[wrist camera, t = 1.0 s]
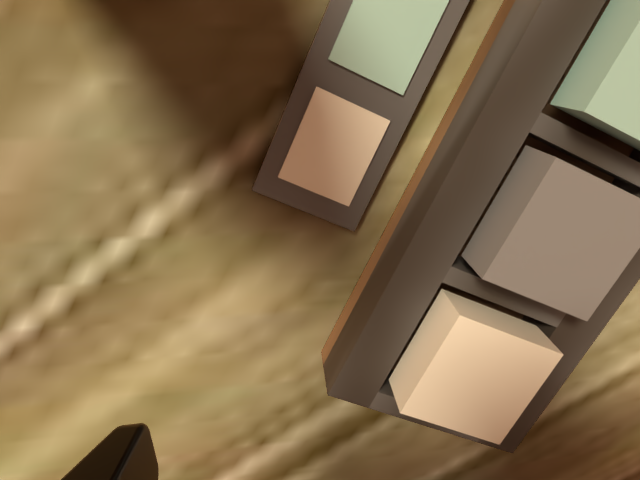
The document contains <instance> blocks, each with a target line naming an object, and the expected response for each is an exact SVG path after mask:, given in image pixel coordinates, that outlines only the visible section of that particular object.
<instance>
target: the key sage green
mask: <svg viewBox="0 0 640 480" xmlns="http://www.w3.org/2000/svg"><path fill="white" fill-rule="evenodd" d="M550 105H552V106H554V107H556V108H558V109H560V110H562V111H564V112H566V113H568V114H570V115H572V116H573V117H575V118H577V119H579V120H581V121H583V122H585V123H587V124H589V125H591V126H593V127H595V128H597V129H599V130H600V131H602V132H604V133H606V134H608V135H610V136H612V137H614V138H616V139H618V140H620V141H622V142H624V143H626V144H628V145H629V146H631V147H633V148H635V149H637V150H639V151H640V0H610V2H609V4H608V6H607V7H606V9H605V11H604V12H603V14H602V16H601V18H600V19H599V21H598V23H597V24H596V26H595V28H594V30H593V31H592V33H591V35H590V36H589V38H588V40H587V41H586V43H585V45H584V47H583V48H582V50H581V52H580V53H579V55H578V57H577V59H576V60H575V62H574V64H573V65H572V67H571V69H570V71H569V72H568V74H567V76H566V77H565V79H564V81H563V82H562V84H561V86H560V88H559V89H558V91H557V93H556V94H555V96H554V98H553V100H552V101H551V103H550Z"/></svg>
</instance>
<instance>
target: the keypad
mask: <svg viewBox="0 0 640 480" xmlns="http://www.w3.org/2000/svg"><path fill="white" fill-rule="evenodd" d="M609 2H610V0H504V1H503V3H502V5H501V7H500V9H499V11H498V13H497V15H496V17H495V19H494V21H493V23H492V24H491V26H490V28H489V30H488V32H487V34H486V36H485V38H484V40H483V42H482V44H481V46H480V48H479V49H478V51H477V53H476V55H475V57H474V59H473V61H472V63H471V65H470V67H469V69H468V71H467V73H466V74H465V76H464V78H463V80H462V82H461V84H460V86H459V88H458V90H457V92H456V94H455V96H454V98H453V99H452V101H451V103H450V105H449V107H448V109H447V111H446V113H445V115H444V117H443V119H442V121H441V123H440V124H439V126H438V128H437V130H436V132H435V134H434V136H433V138H432V140H431V142H430V144H429V146H428V148H427V149H426V151H425V153H424V155H423V157H422V159H421V161H420V163H419V165H418V167H417V169H416V171H415V173H414V174H413V176H412V178H411V180H410V182H409V184H408V186H407V188H406V190H405V192H404V194H403V196H402V198H401V199H400V201H399V203H398V205H397V207H396V209H395V211H394V213H393V215H392V217H391V219H390V221H389V223H388V224H387V226H386V228H385V230H384V232H383V234H382V236H381V238H380V240H379V242H378V244H377V246H376V248H375V249H374V251H373V253H372V255H371V257H370V259H369V261H368V263H367V265H366V267H365V269H364V271H363V273H362V274H361V276H360V278H359V280H358V282H357V284H356V286H355V288H354V290H353V292H352V294H351V296H350V298H349V299H348V301H347V303H346V305H345V307H344V309H343V311H342V313H341V315H340V317H339V319H338V321H337V323H336V324H335V326H334V328H333V330H332V332H331V334H330V336H329V338H328V340H327V342H326V344H325V346H324V348H323V349H322V351H321V353H322V360H323V367H324V373H325V380H326V387H327V394H328V395H329V396H332V397H335V398H338V399H342V400H345V401H348V402H351V403H354V404H357V405H361V406H364V407H367V408H370V409H373V410H377V411H380V412H383V413H386V414H389V415H392V416H396V417H399V418H402V419H405V420H408V421H411V422H415V423H418V424H421V425H424V426H427V427H431V428H434V429H437V430H440V431H443V432H446V433H450V434H453V435H456V436H459V437H462V438H465V439H469V440H472V441H475V442H478V443H481V444H485V445H488V446H491V447H494V448H497V449H500V450H504V451H507V452H510V453H513V452H514V451H515V449H516V448H517V447H518V445H519V444H520V443H521V441H522V440H523V438H524V437H525V436H526V434H527V433H528V432H529V430H530V429H531V427H532V426H533V425H534V423H535V422H536V421H537V419H538V418H539V416H540V415H541V414H542V412H543V411H544V410H545V408H546V407H547V405H548V404H549V403H550V401H551V400H552V399H553V397H554V396H555V394H556V393H557V392H558V390H559V389H560V388H561V386H562V385H563V383H564V382H565V381H566V379H567V378H568V377H569V375H570V374H571V372H572V371H573V370H574V368H575V367H576V366H577V364H578V363H579V361H580V360H581V359H582V357H583V356H584V355H585V353H586V352H587V350H588V349H589V348H590V346H591V345H592V344H593V342H594V341H595V339H596V338H597V337H598V335H599V334H600V333H601V331H602V330H603V328H604V327H605V326H606V324H607V323H608V322H609V320H610V319H611V317H612V316H613V315H614V313H615V312H616V311H617V309H618V308H619V306H620V305H621V304H622V302H623V301H624V300H625V298H626V297H627V295H628V294H629V293H630V291H631V290H632V289H633V287H634V286H635V284H636V283H637V282H638V280H639V279H640V248H639V249H638V251H637V252H636V254H635V255H634V256H633V258H632V259H631V261H630V262H629V264H628V265H627V266H626V268H625V269H624V271H623V272H622V273H621V275H620V276H619V278H618V279H617V280H616V282H615V283H614V285H613V286H612V287H611V289H610V290H609V292H608V293H607V294H606V296H605V297H604V299H603V300H602V301H601V303H600V304H599V306H598V307H597V309H596V310H595V311H594V313H593V314H592V316H591V317H590V318H589V320H588V321H585V320H582V319H580V318H577V317H575V316H572V315H570V314H567V313H565V312H562V311H560V310H557V309H555V308H552V307H550V306H548V305H545V304H543V303H540V302H538V301H535V300H533V299H530V298H528V297H525V296H523V295H520V294H518V293H515V292H513V291H510V290H508V289H505V288H503V287H500V286H498V285H496V284H493V283H491V282H488V281H486V280H483V279H482V278H481V277H480V276H479V275H478V274H477V273H476V272H475V271H474V269H473V268H472V267H471V266H470V265H469V264H468V263H467V261H466V260H465V259H464V258H463V257H462V256H461V255H462V253H463V252H464V250H465V248H466V246H467V245H468V243H469V241H470V240H471V238H472V236H473V235H474V233H475V231H476V229H477V228H478V226H479V224H480V223H481V221H482V219H483V217H484V216H485V214H486V212H487V211H488V209H489V207H490V205H491V204H492V202H493V200H494V199H495V197H496V195H497V194H498V192H499V190H500V188H501V187H502V185H503V183H504V182H505V180H506V178H507V176H508V175H509V173H510V171H511V170H512V168H513V166H514V164H515V163H516V161H517V159H518V158H519V156H520V154H521V153H522V151H523V149H524V147H525V146H526V145H527V146H529V147H532V148H534V149H537V150H539V151H542V152H544V153H547V154H550V155H552V156H555V157H557V158H559V159H561V160H563V161H565V162H567V163H569V164H571V165H573V166H575V167H577V168H579V169H581V170H583V171H586V172H588V173H590V174H592V175H594V176H596V177H598V178H600V179H602V180H604V181H606V182H608V183H610V184H612V185H614V186H616V187H618V188H620V189H622V190H624V191H626V192H628V193H630V194H632V195H635V196H637V197H639V198H640V151H639V150H637V149H635V148H633V147H631V146H629V145H628V144H626V143H624V142H622V141H620V140H618V139H616V138H614V137H612V136H610V135H608V134H606V133H604V132H602V131H600V130H599V129H597V128H595V127H593V126H591V125H589V124H587V123H585V122H583V121H581V120H579V119H577V118H575V117H573V116H572V115H570V114H568V113H566V112H564V111H562V110H560V109H558V108H556V107H554V106H552V105H550V103H551V101H552V100H553V98H554V96H555V94H556V93H557V91H558V89H559V88H560V86H561V84H562V82H563V81H564V79H565V77H566V76H567V74H568V72H569V71H570V69H571V67H572V65H573V64H574V62H575V60H576V59H577V57H578V55H579V53H580V52H581V50H582V48H583V47H584V45H585V43H586V41H587V40H588V38H589V36H590V35H591V33H592V31H593V30H594V28H595V26H596V24H597V23H598V21H599V19H600V18H601V16H602V14H603V12H604V11H605V9H606V7H607V6H608V4H609ZM441 289H444V290H446V291H449V292H451V293H454V294H457V295H459V296H462V297H464V298H467V299H469V300H472V301H474V302H477V303H480V304H482V305H485V306H487V307H490V308H492V309H495V310H498V311H500V312H503V313H505V314H508V315H510V316H513V317H515V318H518V319H521V320H523V321H526V322H528V323H531V324H533V325H536V326H537V327H538V328H539V329H540V330H541V331H542V332H543V333H544V334H545V335H546V336H547V337H548V338H549V340H550V341H551V342H552V343H553V344H554V345H555V346H556V347H557V348H558V349H559V350H560V351H561V352H562V353H563V356H562V358H561V359H560V361H559V362H558V363H557V365H556V366H555V368H554V369H553V370H552V372H551V373H550V375H549V376H548V377H547V379H546V380H545V382H544V383H543V384H542V386H541V387H540V389H539V390H538V391H537V393H536V394H535V396H534V397H533V398H532V400H531V401H530V403H529V404H528V406H527V407H526V408H525V410H524V411H523V413H522V414H521V415H520V417H519V418H518V420H517V421H516V422H515V424H514V425H513V427H512V428H511V429H510V431H509V432H508V434H507V435H506V436H505V438H504V439H503V441H502V442H501V443H500V445H499V444H495V443H492V442H489V441H486V440H483V439H480V438H477V437H473V436H470V435H467V434H464V433H461V432H458V431H455V430H451V429H448V428H445V427H442V426H439V425H436V424H432V423H429V422H426V421H423V420H420V419H417V418H414V417H410V416H407V415H404V414H401V413H400V412H399V409H398V406H397V403H396V400H395V397H394V394H393V391H392V388H391V385H390V382H389V378H390V376H391V375H392V373H393V371H394V369H395V368H396V366H397V364H398V363H399V361H400V359H401V357H402V356H403V354H404V352H405V351H406V349H407V347H408V346H409V344H410V342H411V340H412V339H413V337H414V335H415V334H416V332H417V330H418V328H419V327H420V325H421V323H422V322H423V320H424V318H425V317H426V315H427V313H428V311H429V310H430V308H431V306H432V305H433V303H434V301H435V299H436V298H437V296H438V294H439V293H440V291H441Z"/></svg>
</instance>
